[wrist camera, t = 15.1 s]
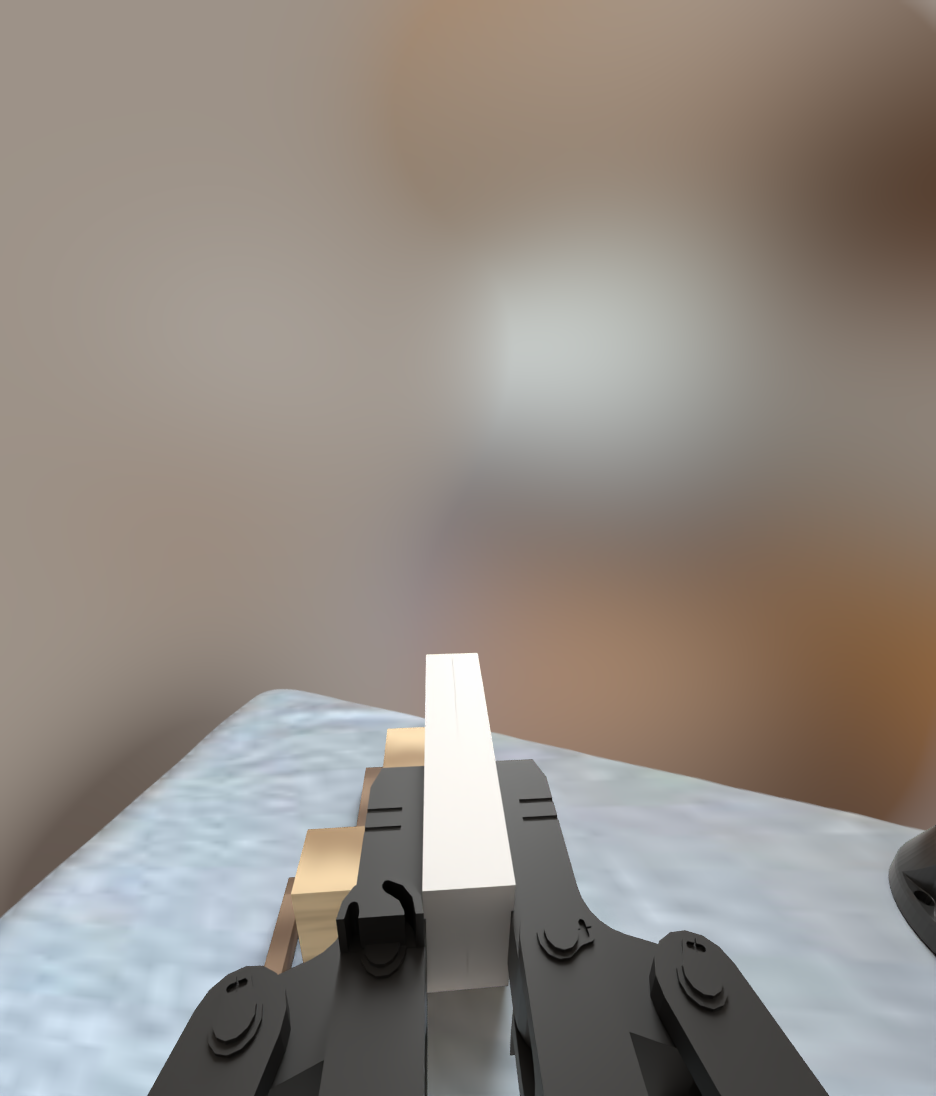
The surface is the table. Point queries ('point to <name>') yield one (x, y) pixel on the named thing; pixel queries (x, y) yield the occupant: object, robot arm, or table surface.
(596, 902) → the table surface
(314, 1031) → the robot arm
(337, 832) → the oak T block
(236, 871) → the table surface
